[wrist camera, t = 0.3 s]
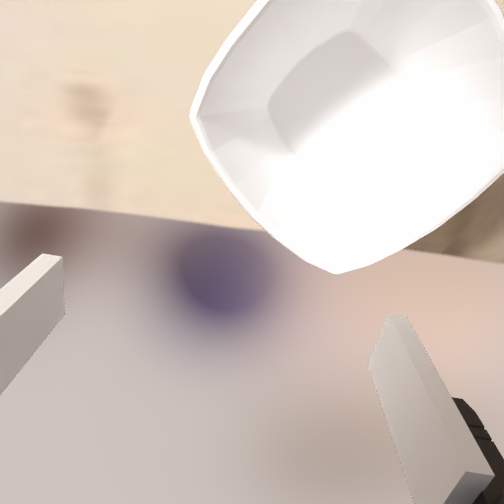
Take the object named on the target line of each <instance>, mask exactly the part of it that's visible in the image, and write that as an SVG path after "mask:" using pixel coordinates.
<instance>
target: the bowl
mask: <svg viewBox="0 0 504 504" xmlns="http://www.w3.org/2000/svg"><path fill="white" fill-rule="evenodd" d="M190 120H191V123H192V126H193V128H194V131H195V133H196V136H197V138H198V141H199V143H200V145H201V148H202V150H203V153H204V155H205V157H206V158H207V160H208V161H209V162H210V164H211V165H212V167H213V168H214V170H215V171H216V173H217V174H218V176H219V177H220V179H221V180H222V182H223V183H224V185H225V186H226V187H227V189H228V190H229V191H230V193H231V194H232V195H233V196H234V198H235V199H236V200H237V201H238V202H239V204H240V205H241V206H242V207H243V208H244V210H245V211H246V212H247V213H248V215H249V216H250V217H251V218H252V219H253V220H254V221H255V222H256V223H258V224H259V225H260V226H261V227H262V228H263V229H264V230H265V231H266V232H268V233H269V234H270V235H271V236H272V237H273V238H274V239H275V240H276V241H278V242H279V243H280V244H282V245H283V246H284V247H286V248H287V249H288V250H290V251H291V252H292V253H294V254H295V255H296V256H298V257H299V258H301V259H302V260H303V261H305V262H307V263H309V264H311V265H313V266H315V267H318V268H320V269H322V270H324V271H327V272H329V273H331V274H342V273H345V272H349V271H352V270H355V269H359V268H363V267H366V266H369V265H371V264H373V263H375V262H378V261H380V260H382V259H384V258H385V257H388V256H390V255H392V254H394V253H396V252H398V251H400V250H402V249H403V248H405V247H407V246H408V245H410V244H412V243H414V242H415V241H417V240H419V239H420V238H422V237H424V236H425V235H427V234H429V233H430V232H432V231H434V230H435V229H437V228H438V227H440V226H441V225H442V224H444V223H445V222H446V221H447V220H449V219H450V218H451V217H453V216H454V215H455V214H457V213H458V212H459V211H460V210H462V209H463V208H464V207H466V206H467V205H468V204H470V203H471V202H472V201H473V200H475V199H476V198H477V197H478V196H479V195H480V194H481V193H482V192H484V191H485V190H486V189H487V188H488V187H489V186H490V185H491V184H492V183H493V182H494V181H496V180H497V179H498V178H499V177H500V176H501V175H502V174H503V173H504V16H503V13H502V11H501V9H500V7H499V6H498V4H497V3H496V1H495V0H257V2H256V3H255V4H254V5H253V6H252V8H251V9H250V10H249V11H248V13H247V14H246V15H245V16H244V18H243V19H242V20H241V21H240V23H239V24H238V25H237V26H236V28H235V29H234V30H233V31H232V33H231V34H230V35H229V36H228V38H227V39H226V40H225V42H224V44H223V45H222V47H221V48H220V50H219V51H218V53H217V55H216V56H215V58H214V59H213V61H212V62H211V64H210V65H209V67H208V69H207V70H206V72H205V73H204V75H203V78H202V81H201V83H200V86H199V89H198V91H197V94H196V96H195V99H194V102H193V104H192V107H191V110H190Z"/></svg>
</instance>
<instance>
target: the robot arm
mask: <svg viewBox="0 0 504 504" xmlns="http://www.w3.org/2000/svg"><path fill="white" fill-rule="evenodd" d="M64 315H65V302H64V279H63V260H62V257H60V256H54V255H48V254H41V255H40V256H39V257H38V258H37V259H35V260H34V261H33V262H32V263H31V264H30V265H28V266H27V267H26V268H25V269H24V270H22V271H21V272H20V273H19V274H18V275H17V276H15V277H14V278H13V279H12V280H11V281H10V282H8V283H7V284H6V285H5V286H4V287H3V288H1V289H0V395H1V394H2V392H3V391H4V390H5V389H6V387H7V386H8V385H9V384H10V382H11V381H12V380H13V379H14V377H15V376H16V375H17V374H18V372H19V371H20V370H21V369H22V367H23V366H24V365H25V364H26V362H27V361H28V360H29V359H30V357H31V356H32V355H33V354H34V352H35V351H36V350H37V349H38V347H39V346H40V345H41V344H42V342H43V341H44V340H45V339H46V337H47V336H48V335H49V334H50V332H51V331H52V330H53V329H54V327H55V326H56V325H57V324H58V322H59V321H60V320H61V319H62V317H63V316H64ZM368 368H369V371H370V374H371V376H372V380H373V382H374V386H375V388H376V392H377V395H378V398H379V401H380V404H381V406H382V409H383V412H384V415H385V418H386V421H387V424H388V427H389V430H390V433H391V436H392V439H393V442H394V445H395V448H396V451H397V454H398V457H399V460H400V463H401V466H402V469H403V472H404V475H405V478H406V481H407V484H408V487H409V490H410V493H411V496H412V499H413V502H414V504H504V459H503V457H502V456H501V454H500V452H499V451H498V449H497V447H496V445H495V444H494V442H492V441H491V437H490V435H489V434H488V432H487V431H486V430H485V429H484V426H483V424H482V422H481V420H480V419H479V417H478V416H477V414H476V412H475V411H474V410H473V409H472V408H471V407H470V406H469V405H468V404H467V403H466V402H465V401H464V400H463V399H459V398H453V397H451V396H450V394H449V392H448V390H447V388H446V386H445V385H444V383H443V381H442V379H441V378H440V376H439V374H438V372H437V370H436V368H435V367H434V365H433V363H432V361H431V359H430V357H429V356H428V354H427V353H426V351H425V348H424V347H423V345H422V343H421V341H420V339H419V338H418V336H417V334H416V332H415V331H414V329H413V327H412V325H411V323H410V321H409V320H408V318H407V317H403V316H398V315H393V314H389V315H388V317H387V320H386V322H385V324H384V327H383V329H382V332H381V334H380V336H379V339H378V341H377V343H376V346H375V348H374V351H373V353H372V355H371V357H370V360H369V362H368Z"/></svg>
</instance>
